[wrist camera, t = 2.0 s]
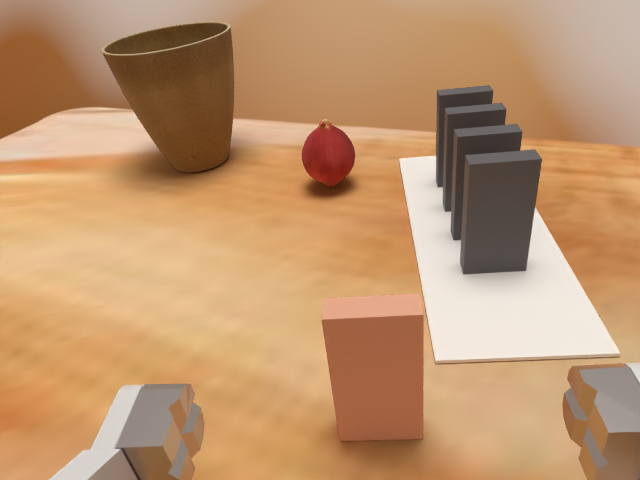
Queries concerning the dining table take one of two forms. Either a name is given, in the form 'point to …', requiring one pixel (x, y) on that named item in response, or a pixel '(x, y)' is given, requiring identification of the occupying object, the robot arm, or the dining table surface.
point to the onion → (328, 154)
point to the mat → (496, 291)
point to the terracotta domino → (376, 365)
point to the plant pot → (180, 89)
